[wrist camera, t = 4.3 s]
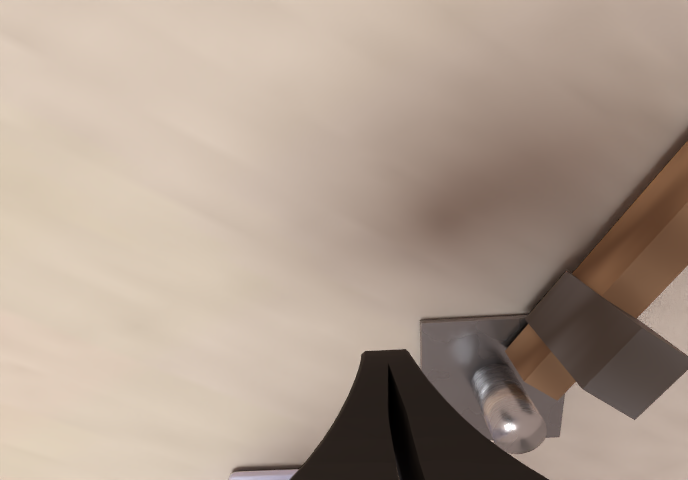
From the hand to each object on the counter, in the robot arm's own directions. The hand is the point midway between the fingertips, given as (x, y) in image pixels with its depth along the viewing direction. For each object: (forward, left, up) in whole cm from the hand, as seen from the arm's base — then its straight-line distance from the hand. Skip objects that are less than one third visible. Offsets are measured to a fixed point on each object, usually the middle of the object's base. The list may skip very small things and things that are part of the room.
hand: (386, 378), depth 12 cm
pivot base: (-5, -6, -7) cm, 10 cm away
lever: (+1, -11, -6) cm, 13 cm away
